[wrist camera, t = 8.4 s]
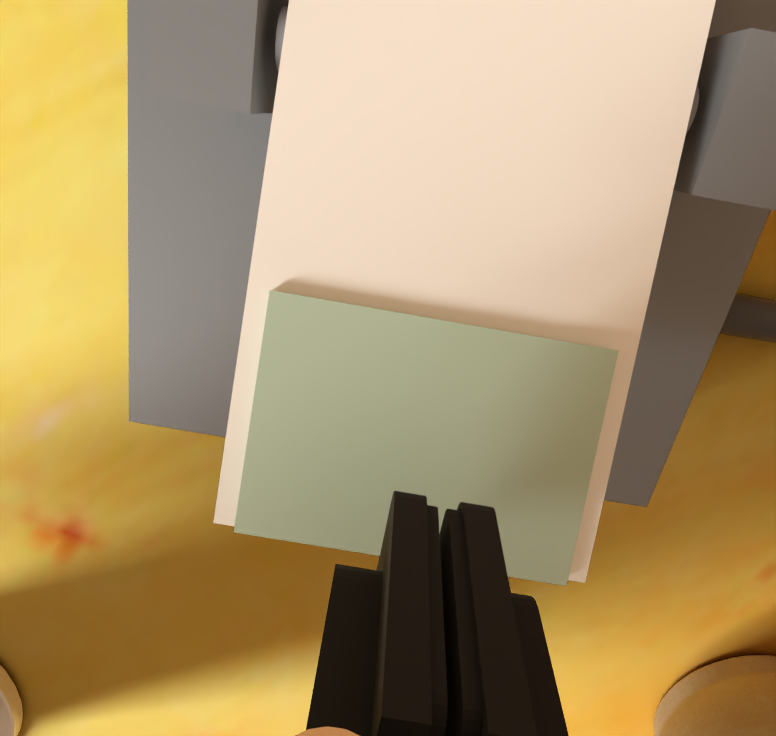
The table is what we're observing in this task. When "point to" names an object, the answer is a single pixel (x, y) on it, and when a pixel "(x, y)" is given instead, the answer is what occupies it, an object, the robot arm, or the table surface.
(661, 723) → the planter bowl
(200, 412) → the box
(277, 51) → the breaker paddle
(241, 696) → the table surface
